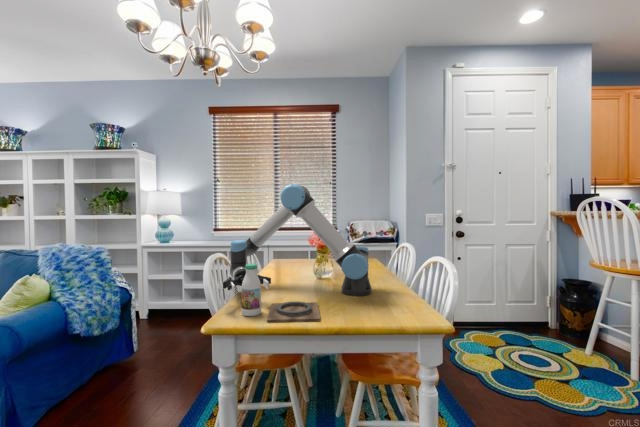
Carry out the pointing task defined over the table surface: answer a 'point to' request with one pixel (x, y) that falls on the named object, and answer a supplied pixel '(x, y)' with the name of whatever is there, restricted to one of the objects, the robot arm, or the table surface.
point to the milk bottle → (251, 292)
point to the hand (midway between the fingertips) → (251, 287)
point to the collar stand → (293, 312)
